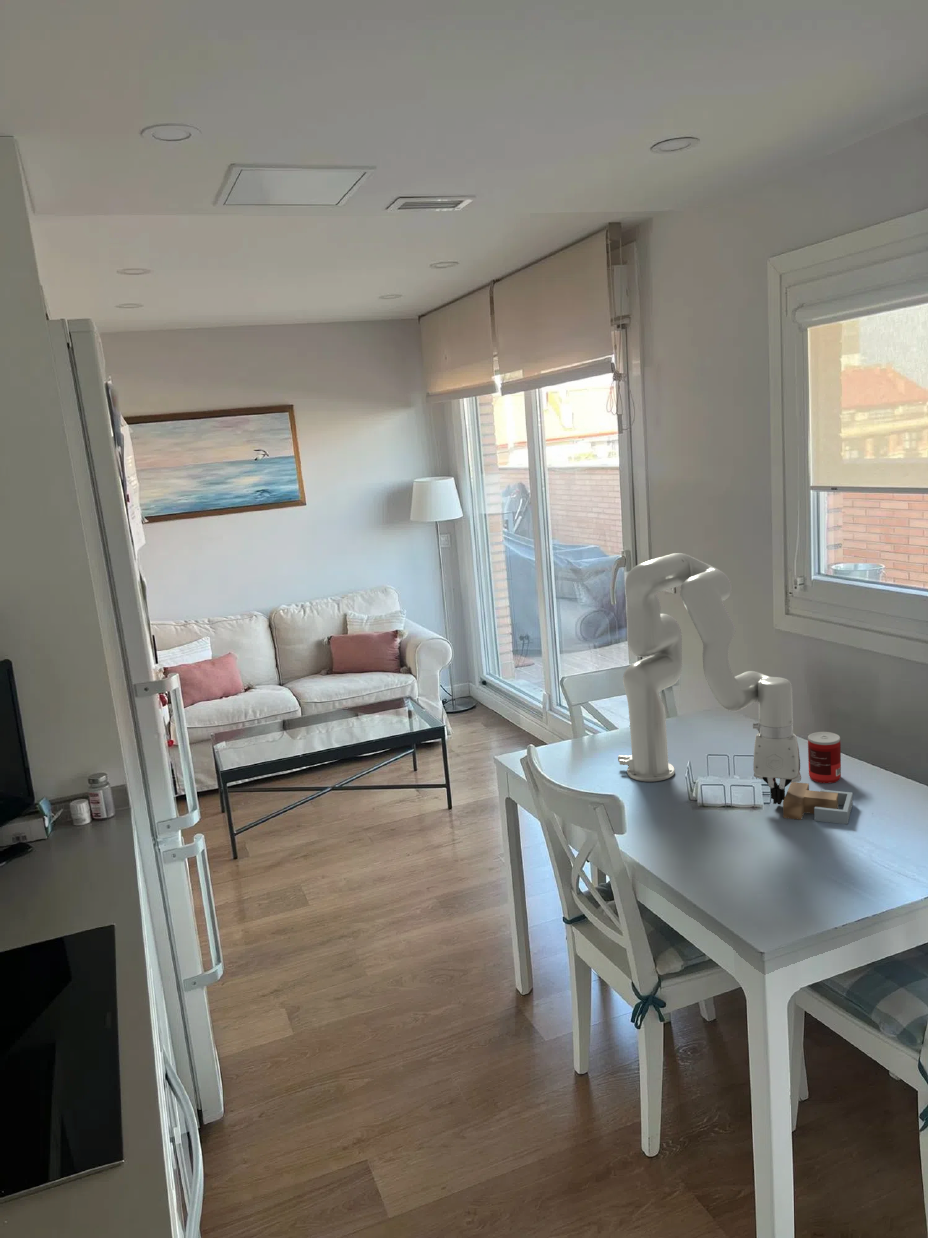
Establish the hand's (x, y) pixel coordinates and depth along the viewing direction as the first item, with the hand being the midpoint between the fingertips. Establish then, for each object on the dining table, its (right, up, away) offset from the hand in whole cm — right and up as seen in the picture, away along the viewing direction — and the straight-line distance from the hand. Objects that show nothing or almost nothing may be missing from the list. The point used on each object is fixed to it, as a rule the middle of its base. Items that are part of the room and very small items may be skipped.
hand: (778, 801), depth 215 cm
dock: (+11, -1, -6) cm, 13 cm away
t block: (+7, -1, -4) cm, 8 cm away
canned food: (+17, +3, +13) cm, 22 cm away
